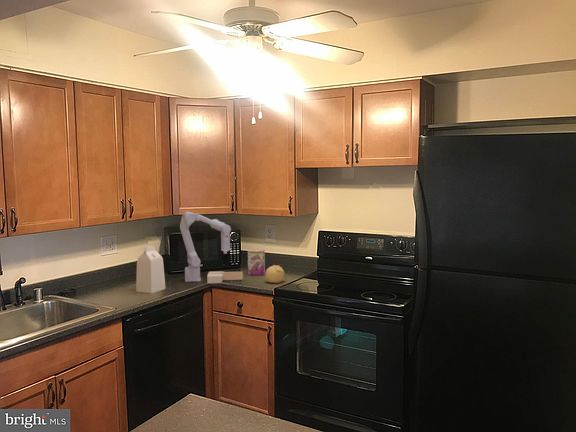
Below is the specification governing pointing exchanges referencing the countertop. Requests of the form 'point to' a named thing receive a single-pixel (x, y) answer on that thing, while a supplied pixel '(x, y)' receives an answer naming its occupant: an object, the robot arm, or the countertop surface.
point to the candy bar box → (256, 262)
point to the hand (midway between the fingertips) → (226, 262)
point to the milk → (150, 271)
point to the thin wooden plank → (232, 275)
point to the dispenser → (214, 277)
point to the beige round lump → (274, 274)
